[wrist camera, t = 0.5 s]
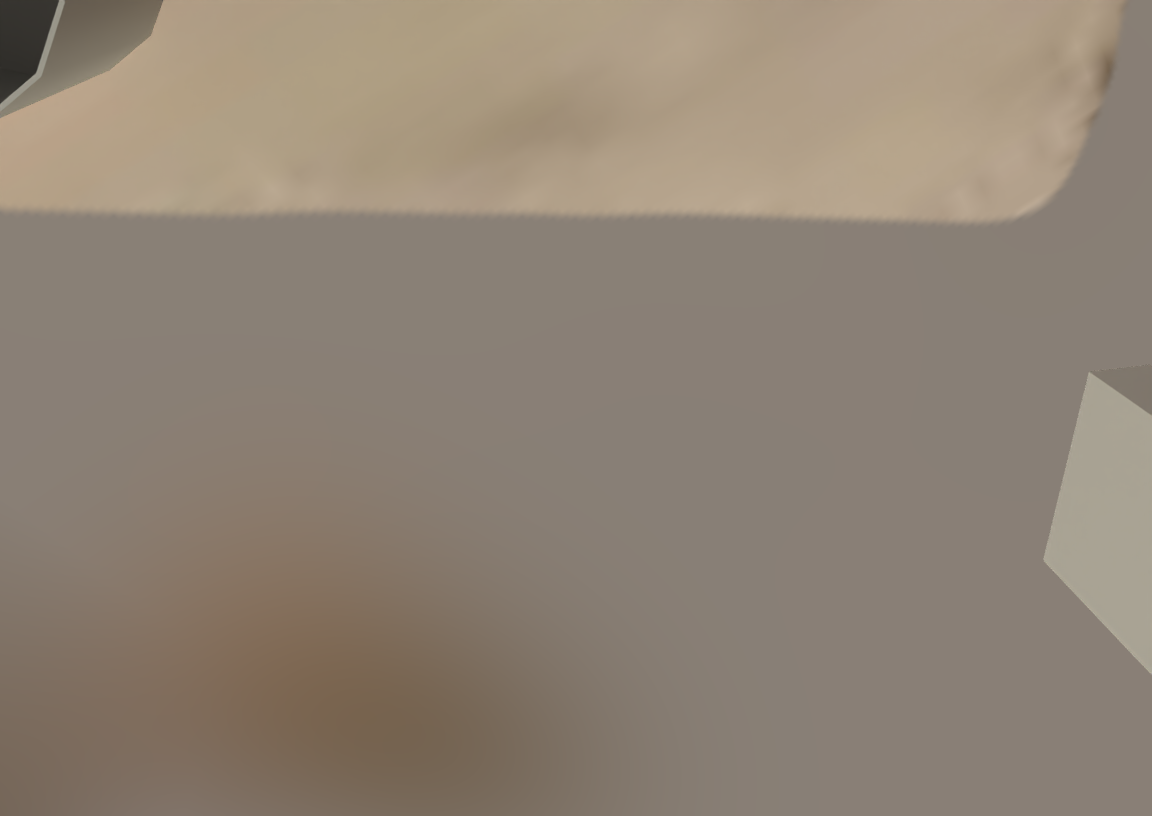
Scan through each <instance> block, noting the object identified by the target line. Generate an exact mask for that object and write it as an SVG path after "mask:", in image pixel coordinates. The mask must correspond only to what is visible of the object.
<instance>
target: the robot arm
mask: <svg viewBox="0 0 1152 816" xmlns="http://www.w3.org/2000/svg"><path fill="white" fill-rule="evenodd" d="M1043 560H1044V562H1045V563H1046V564H1047V565H1048V566H1049V567H1050V568H1051V569H1052V570H1053V571H1054V572H1055V573H1056V574H1057V575H1058V576H1059V577H1060V578H1061V579H1062V581H1063V582H1064V583H1065V584H1066V585H1067V586H1068V587H1069V588H1070V589H1071V590H1072V591H1073V592H1074V593H1075V594H1076V595H1077V596H1078V598H1079V599H1080V600H1081V601H1082V602H1083V603H1084V604H1085V605H1086V606H1087V607H1088V608H1089V609H1090V610H1091V611H1092V612H1093V613H1094V614H1095V615H1096V617H1097V618H1098V619H1099V620H1100V621H1101V622H1102V623H1103V624H1104V625H1105V626H1106V627H1107V628H1108V629H1109V630H1110V631H1111V632H1112V633H1113V634H1114V636H1115V637H1116V638H1117V639H1118V640H1119V641H1120V642H1121V643H1122V644H1123V645H1124V646H1125V647H1126V648H1127V649H1128V650H1129V651H1130V653H1131V654H1132V655H1133V656H1134V657H1135V658H1136V659H1137V660H1138V661H1139V662H1140V663H1141V664H1142V665H1143V666H1144V667H1145V668H1146V670H1147V671H1148V672H1149V673H1150V674H1151V675H1152V366H1151V365H1143V366H1135V367H1126V368H1117V369H1109V370H1100V371H1091V372H1089V374H1088V378H1087V383H1086V387H1085V391H1084V395H1083V399H1082V403H1081V407H1080V411H1079V415H1078V420H1077V424H1076V428H1075V432H1074V436H1073V440H1072V445H1071V448H1070V452H1069V457H1068V461H1067V465H1066V469H1065V473H1064V477H1063V481H1062V485H1061V489H1060V494H1059V498H1058V502H1057V506H1056V510H1055V514H1054V518H1053V522H1052V527H1051V531H1050V535H1049V539H1048V543H1047V547H1046V551H1045V555H1044V559H1043Z"/></svg>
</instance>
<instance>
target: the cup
mask: <svg viewBox="0 0 1152 816" xmlns="http://www.w3.org/2000/svg"><path fill="white" fill-rule="evenodd" d="M162 2H163V0H0V118H1V117H3V116H6V115H8V114H10V113H13V112H15V111H17V110H19V109H22V108H24V107H26V106H29V105H31V104H33V103H35V102H38V101H40V100H42V99H45V98H47V97H49V96H51V95H54V94H56V93H58V92H61V91H63V90H65V89H67V88H70V87H72V86H74V85H77V84H79V83H81V82H83V81H86V80H88V79H90V78H93V77H95V76H97V75H99V74H102V73H104V72H106V71H109V70H110V69H111V68H113V67H114V66H115V65H116V64H117V63H119V62H120V61H121V60H122V59H123V58H125V57H126V56H127V55H128V54H129V53H130V52H132V51H133V50H134V49H135V48H136V47H138V46H139V45H140V44H141V43H142V42H144V41H145V40H146V39H147V38H148V37H149V36H151V33H152V30H153V28H154V25H155V22H156V19H157V16H158V13H159V11H160V8H161V5H162Z"/></svg>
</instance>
